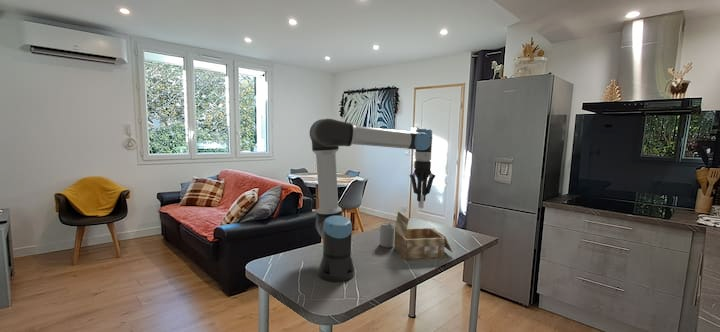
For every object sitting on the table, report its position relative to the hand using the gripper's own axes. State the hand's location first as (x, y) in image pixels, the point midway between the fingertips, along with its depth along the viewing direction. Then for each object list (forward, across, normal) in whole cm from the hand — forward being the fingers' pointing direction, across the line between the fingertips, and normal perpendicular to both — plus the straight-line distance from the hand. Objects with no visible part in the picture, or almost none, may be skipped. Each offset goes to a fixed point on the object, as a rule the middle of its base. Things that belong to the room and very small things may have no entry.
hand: (420, 207), depth 159 cm
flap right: (+17, +13, 0) cm, 21 cm away
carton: (+23, 0, 0) cm, 23 cm away
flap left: (+8, -10, 0) cm, 13 cm away
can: (+23, -13, +12) cm, 29 cm away
